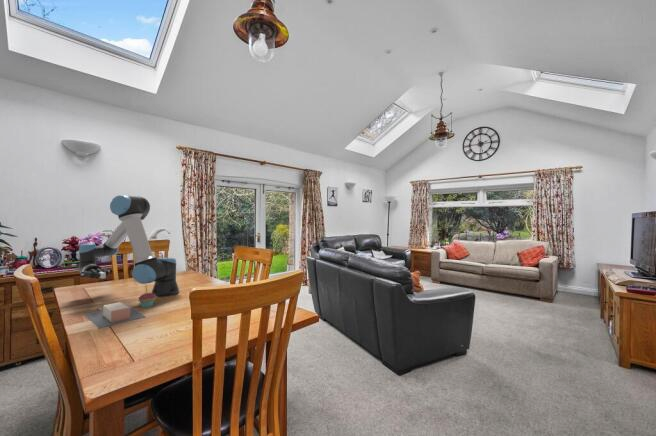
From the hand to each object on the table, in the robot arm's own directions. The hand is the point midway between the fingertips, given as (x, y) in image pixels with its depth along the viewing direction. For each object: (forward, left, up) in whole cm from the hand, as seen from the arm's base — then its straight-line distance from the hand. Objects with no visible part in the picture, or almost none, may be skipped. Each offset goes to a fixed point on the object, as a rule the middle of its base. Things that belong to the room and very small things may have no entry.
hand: (103, 275), depth 143 cm
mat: (-8, +14, -18) cm, 24 cm away
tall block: (-7, +11, -15) cm, 20 cm away
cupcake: (-20, +3, -18) cm, 27 cm away
